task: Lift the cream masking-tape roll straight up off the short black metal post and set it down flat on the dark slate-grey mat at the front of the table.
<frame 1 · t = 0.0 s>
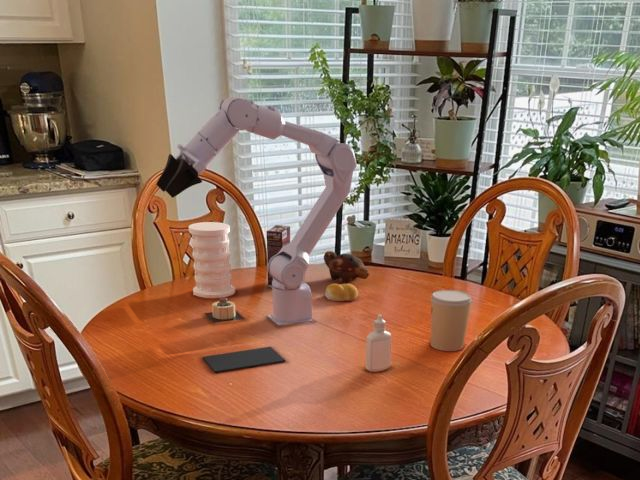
hand: (164, 190, 153), 32 cm above the table, tool tilted 50°, fingers open, 7 cm apart
tape roll: (224, 315, 181), resting on tape post
decorative container: (214, 293, 199), on the table
decorative turtle: (345, 281, 213), on the table
tape post: (224, 317, 181), on the table
bread roll: (340, 298, 198), on the table
mat: (244, 360, 157), on the table
supplement box: (280, 285, 207), on the table
eye dropper bottle: (377, 369, 155), on the table
white canister: (446, 346, 169), on the table
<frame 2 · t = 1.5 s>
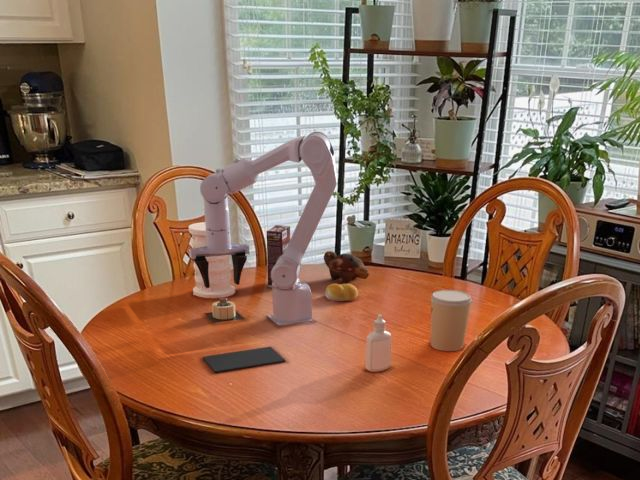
hand: (222, 285, 177), 8 cm above the table, tool pointing down, fingers open, 7 cm apart
nothing on the table moved.
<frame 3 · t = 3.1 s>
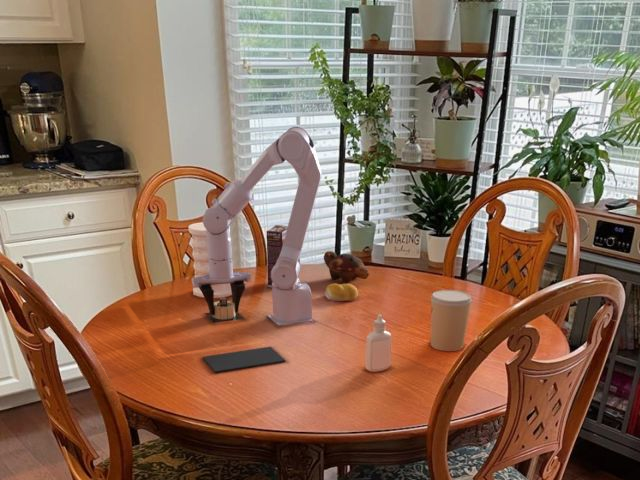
hand: (224, 312, 180), 1 cm above the table, tool pointing down, fingers closed on tape roll, 5 cm apart
tape roll: (224, 315, 181), resting on tape post, touching gripper
everything else where it was.
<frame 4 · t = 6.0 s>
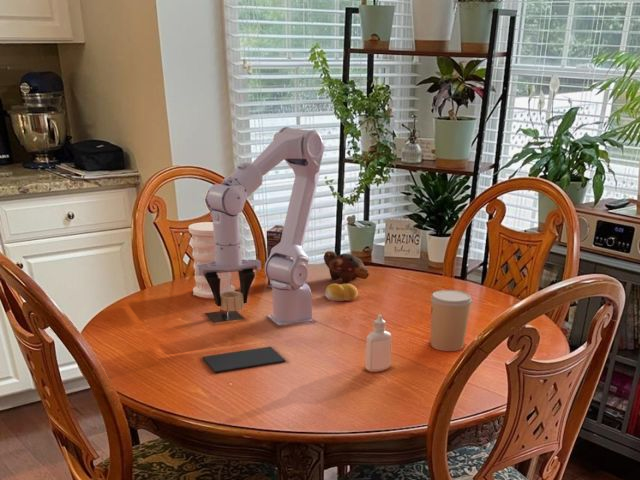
hand: (231, 303, 164), 8 cm above the table, tool pointing down, fingers closed on tape roll, 5 cm apart
tape roll: (231, 307, 165), point 8 cm above the table, touching gripper
everything else where it was.
when the fingers open (1 cm above the table, at t = 9.4 s): tape roll stays where it is, resting on mat.
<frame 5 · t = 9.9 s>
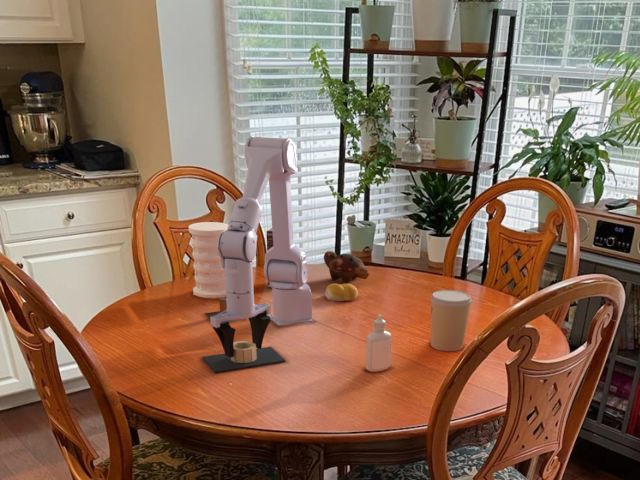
hand: (243, 351, 156), 2 cm above the table, tool pointing down, fingers open, 7 cm apart
tape roll: (243, 358, 157), resting on mat
everything else where it was.
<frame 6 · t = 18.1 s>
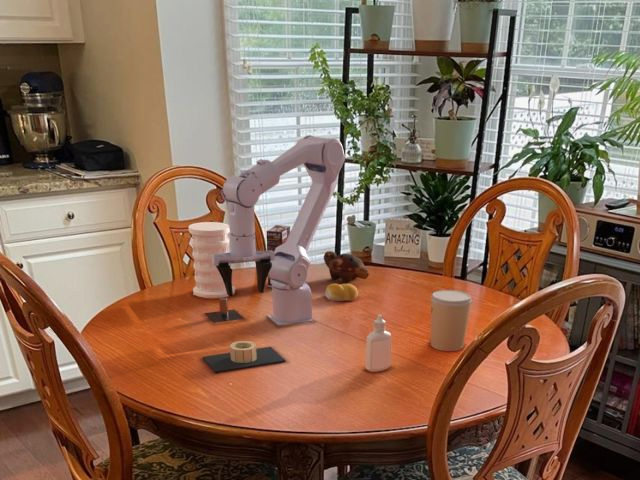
hand: (245, 293, 168), 9 cm above the table, tool pointing down, fingers open, 7 cm apart
nothing on the table moved.
at the end: tape roll inside the target area on the mat (0.0 cm from its centre), point 0.4 cm above the mat's base; tape roll tilted 0°; the gripper is holding nothing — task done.
